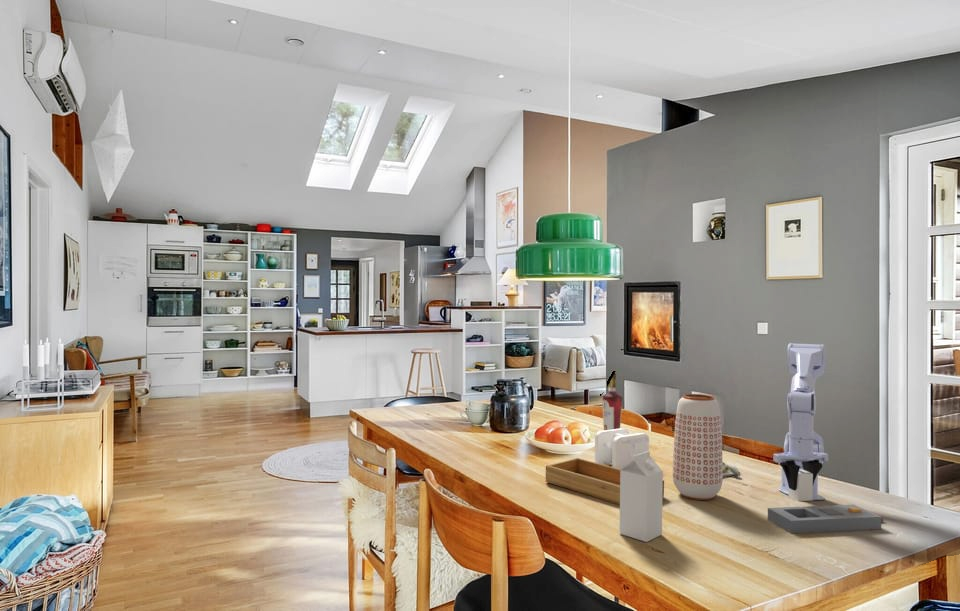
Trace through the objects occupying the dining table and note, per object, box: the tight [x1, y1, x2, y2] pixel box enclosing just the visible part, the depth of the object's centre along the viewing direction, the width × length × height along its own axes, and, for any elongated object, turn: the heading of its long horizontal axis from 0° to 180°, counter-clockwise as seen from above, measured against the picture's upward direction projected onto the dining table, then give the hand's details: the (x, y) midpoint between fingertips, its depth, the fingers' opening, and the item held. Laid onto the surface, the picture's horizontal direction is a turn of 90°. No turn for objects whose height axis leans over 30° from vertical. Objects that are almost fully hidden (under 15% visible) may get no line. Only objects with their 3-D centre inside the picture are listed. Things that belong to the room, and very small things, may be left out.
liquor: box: [601, 372, 623, 431], centre depth 230 cm, size 7×7×28 cm
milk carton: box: [619, 450, 664, 543], centre depth 142 cm, size 7×7×19 cm
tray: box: [545, 457, 665, 506], centre depth 176 cm, size 31×15×6 cm, turn 43°
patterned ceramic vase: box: [672, 393, 724, 501], centre depth 172 cm, size 13×13×28 cm
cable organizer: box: [594, 427, 650, 469], centre depth 201 cm, size 15×11×12 cm
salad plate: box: [722, 461, 740, 478], centre depth 197 cm, size 19×18×5 cm
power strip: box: [767, 504, 884, 534], centre depth 150 cm, size 28×9×4 cm, turn 98°
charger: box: [788, 469, 813, 502], centre depth 160 cm, size 4×4×7 cm
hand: (800, 488), depth 160 cm, fingers closed on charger, 4 cm apart
